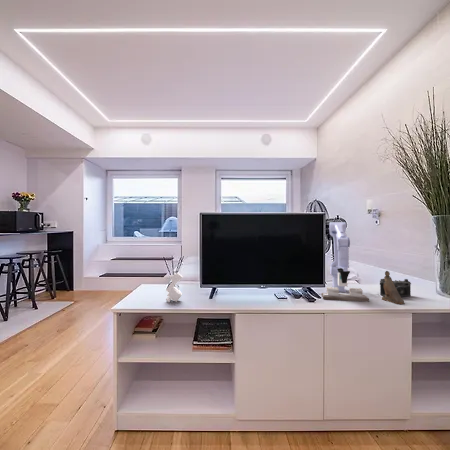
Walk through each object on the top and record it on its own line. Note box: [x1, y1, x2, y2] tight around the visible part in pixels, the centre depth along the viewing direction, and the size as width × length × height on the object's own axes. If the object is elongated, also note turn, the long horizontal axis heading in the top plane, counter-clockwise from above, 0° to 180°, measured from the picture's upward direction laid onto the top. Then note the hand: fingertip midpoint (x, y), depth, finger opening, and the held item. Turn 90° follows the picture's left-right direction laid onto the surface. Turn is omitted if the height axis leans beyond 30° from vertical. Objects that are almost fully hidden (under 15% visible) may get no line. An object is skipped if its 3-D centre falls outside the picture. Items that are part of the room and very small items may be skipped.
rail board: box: [321, 286, 370, 302], centre depth 171 cm, size 10×24×6 cm, turn 78°
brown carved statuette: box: [381, 270, 405, 305], centre depth 165 cm, size 12×6×18 cm, turn 13°
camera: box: [379, 278, 412, 298], centre depth 174 cm, size 18×9×10 cm, turn 85°
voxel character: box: [165, 272, 184, 303], centre depth 167 cm, size 7×12×15 cm
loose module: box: [338, 273, 348, 287], centre depth 171 cm, size 5×4×7 cm
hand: (343, 281), depth 171 cm, fingers closed on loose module, 5 cm apart
